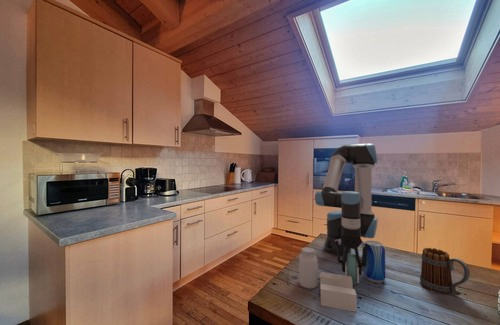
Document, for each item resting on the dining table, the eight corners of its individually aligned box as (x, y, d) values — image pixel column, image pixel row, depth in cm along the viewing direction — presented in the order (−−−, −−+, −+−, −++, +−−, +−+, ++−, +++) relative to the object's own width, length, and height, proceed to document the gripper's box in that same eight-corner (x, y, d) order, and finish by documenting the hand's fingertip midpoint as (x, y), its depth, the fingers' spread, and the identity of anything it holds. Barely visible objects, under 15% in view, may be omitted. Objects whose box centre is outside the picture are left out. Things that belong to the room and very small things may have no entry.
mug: (414, 283, 91) (413, 248, 91) (429, 278, 95) (428, 245, 95) (461, 305, 76) (460, 264, 76) (476, 298, 80) (475, 259, 80)
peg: (346, 279, 94) (345, 252, 94) (356, 281, 93) (355, 254, 93) (347, 284, 90) (346, 256, 90) (357, 286, 89) (357, 257, 89)
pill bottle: (303, 290, 87) (303, 253, 87) (296, 279, 95) (296, 246, 95) (321, 288, 88) (321, 252, 88) (312, 277, 96) (312, 245, 96)
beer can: (388, 284, 90) (388, 247, 90) (367, 282, 92) (367, 246, 92) (380, 274, 98) (380, 240, 98) (361, 272, 100) (360, 239, 100)
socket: (320, 285, 90) (320, 271, 90) (351, 291, 86) (351, 276, 86) (320, 305, 77) (320, 288, 77) (356, 312, 74) (356, 295, 74)
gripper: (330, 227, 91) (331, 281, 91) (374, 231, 86) (375, 288, 85) (329, 223, 98) (330, 273, 98) (370, 226, 93) (371, 278, 93)
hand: (351, 280), depth 92 cm, fingers closed on peg, 4 cm apart
